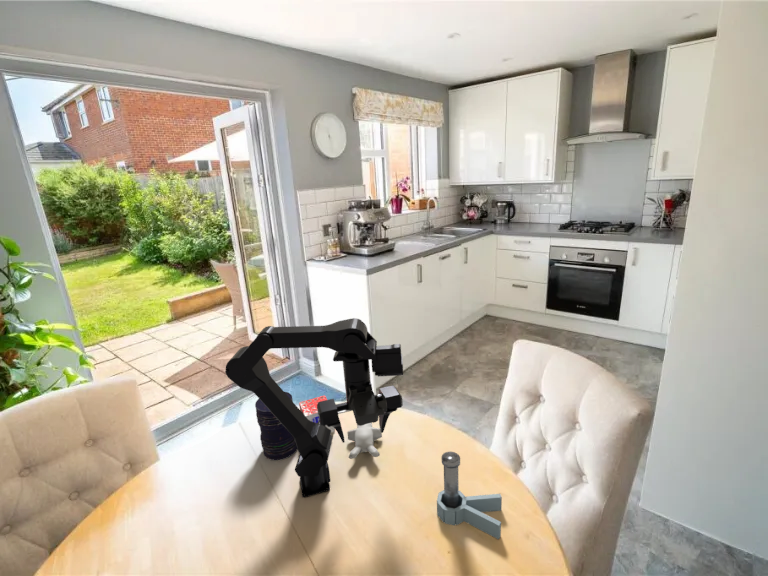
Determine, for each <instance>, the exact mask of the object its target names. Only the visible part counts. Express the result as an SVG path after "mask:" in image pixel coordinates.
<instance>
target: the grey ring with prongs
mask: <svg viewBox="0 0 768 576" xmlns="http://www.w3.org/2000/svg"><path fill="white" fill-rule="evenodd" d="M502 499H503V497H502V495H501V493H490V494H482V495H481V494H480V495H479V494H478V495H467V496H466V495H465V494H464V493H463V492H462V491H461V490H459V507H457V508H455V509H453V508H448V507H445V505H444V489H443V490H441V491H439V492H438V494H437V500H436V514H437V517H439V519H440V520H441V522H442V523H444V524H445V525H451V526H459V525H460V524H462V523H463V522H465V523H466V524H468V525H469V526H471V527H474V528H476V529H478V530H479V531H482V532H483V533H485V534H487V535H488V536H490V537H493V538H495V539H496V540H498V541H499V540H500V538H501V536H502V535H501V534H502V521H500V520H498V519H496V518H494V517H492V516H489V515H488V514H486V512H487V513H491V512H499V511H502V506H503V505H502V503H503V502H502Z"/></svg>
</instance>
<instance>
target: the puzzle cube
mask: <svg viewBox="0 0 768 576" xmlns="http://www.w3.org/2000/svg"><path fill="white" fill-rule="evenodd" d="M325 400H328V399H327V396H326V395H321V396H317V397H314V398H311V399H307V400H302V401H300V402H298V403H299V405H298V406H299V409H300V411H301V412H302V413H303V414H304V415H305V416H306V417H307V419H308V420H309V421H311V422H315V423H318V422H319V421H320V420H319V416H318V412H317V404H318V402H320V401H325ZM325 426H326V427H327V428H328V429H330V430H331V434H332V433H335V432H336V429H335V428H334V427H332V426H331V427H328V426H327V425H325Z"/></svg>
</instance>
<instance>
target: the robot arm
mask: <svg viewBox="0 0 768 576" xmlns="http://www.w3.org/2000/svg"><path fill="white" fill-rule="evenodd" d="M377 344H378V342H377V339H375V338H374V337H373V336H372V335H371V333H370V332H369V331H368V327H367V325H366V323H364V321H362V319H360V318H355V317H353V318H348V319H343V320H338V321H336V322H333V323H331V324H325V325H305V326H304V325H301V326H297V325H296V326H273V325H267V326H265V327H264V328H263V329H261V330H260V332H259V333H258V334H257V336H256V338H255V339H254V340H253V341H252V342H251V343H250V344H249V345H246V346H242V347H240V348H239V349H238V350H237V352H236V353H234V354H233V356H232V357H231V358H230V359H229V360H228V361H227V363H226V364H225V371H224V372H225V375H226V377H227V378H228V379H229V380H230V381H231V382H232V383H234V384H235V385H236V386H237V387H239V388H240V389H243V390H247V391H249V392H252V393H253V394H254V395H255V396H256V397H257V398H258V399H260V400H261V401H262V402H263V403H264V405H265V406H266V407H267V408H268V409H269V410H270V411H271V412H272V413H273V415H274V416H275V417H276V418H277V419H278V420H279V421H280V422H281V423H282V425H283V426H284V427H285V428H286V429H287V430H288V431H289V432H290V433H291V435H292V436H293V437H294V439H295V442H296V445H297V448H298V450H297V453H298V454H299V456H298V459H297V462H296V465H295V467H294V471H295V473H296V475H297V476H298V477H299V483H300V489H301V496H302V498H308V497H311V496H314V495H317V494H321V493H325V492H328V491H330V490H331V489H330V488H331V487H330V482H331V474H330V467H329V464H328V460H329V457H330V452H331V447H332V444H333V435H332V433H331V430H330V429H328V428H327V427H326V426H325V425H327V426H328V427H331V426H332V427H334V428H335V432H336V433H337V434H338V436H339V438H340V440H341V442H342V443H346V442H345V435H344V431H343V428H342V423H341V421H340V418H339V415H340V414H344V413H348V412H352V413H353V416H354V419H355V423H356V426H357V425H359V426H362V425H365V424H368V423H372V424H374V423H376V422H378V423H379V424H378V425H379V428H380V431H381V433H382V434H383V433H384V431H385V428H386V425H387V422H388V420H389V417H390V415H391V414H392V413H393V412H396V411H397V410H398V409H399V408H402V407H403V405H404V404H403V403H404V401H403V397H402V394H401V393H400V391H399V390H398V389H397V387H396V386H394V385H389V386H388V385H387V386H384V387H380V388H379V389H378V394H375V393H374V390H373V386H372V385H373V384H372V383H371V382H372V381H371V370H372V373H374V376H377V377H394V376H398V377H399V376H404V364H403V353H402V345H401V344H400V343H394V344H389V345H386V344H385V345H377ZM300 348H302V349H306V348H310V349H311V348H312V349H313V348H324V349H325V348H326V349H330V350H332V351H335V352H334V355H333V358H332V361H333V362H342V368H343V378H344V385H345V386H344V387H345V396H346V397H345V398H346V402H341V403H336V401H335V399H334V398H330V399H327V400H325V401H320V402H318V404H317V412H318V416H319V420H320V421H319V422H318V423H315V422H311V421H309V420H308V419H307V417H306V416H305V415H304V414H303V413H302V412H301V411H300V407H298V406H297V404H295V402H294V401H293V402H292V400H291V399H290V398H289V397H288V396H287V395H286V394H285V392H286V391H285V390H283V389H282V388H281V387H280V386H279V385H278V383H277V382H276V381H275V380H274V379H273V378H272V376H271V374H270V371H269V367H268V364H267V361H266V360H265V358H264V356H265V355H266V354H267V352H268V351H269V350H271V349H300ZM370 361H371V370H370Z"/></svg>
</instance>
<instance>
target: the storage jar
mask: <svg viewBox="0 0 768 576" xmlns="http://www.w3.org/2000/svg"><path fill="white" fill-rule="evenodd" d="M284 392H285V394H286V395H287V396H288V397H289V398H290V399H291V400H292V402H293V403H294V398H293V395H292V394H291V393H290V392H288V391H284ZM254 406H255V413H256V414H255V416H256V419H257V424H258V427H259V428H260V429H259V431H260V436H259V437H260V443H261V447H262V451H263V453H262V454H263V456H264V457H265V458H266V459H267V460H270V461H280V460H285V459H287V458H290V457H292V456H293V455H294V454H295V453H297V452H298V448H297V445H296V442H295V439H294V437H293V436H292V435H291V433H290V432H289V431H288V430H287V429H286V428H285V427H284V426H283V425H282V423H281V422H280V421H279V420H278V419H277V418H276V417H275V416H274V415H273V413H272V412H271V411H270V410H269V409H268V408H267V407H266V406H265V405H264V403H263V402H262V401H261V400H260V399H259V398H258V399H257V400H256V401H255V404H254Z"/></svg>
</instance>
